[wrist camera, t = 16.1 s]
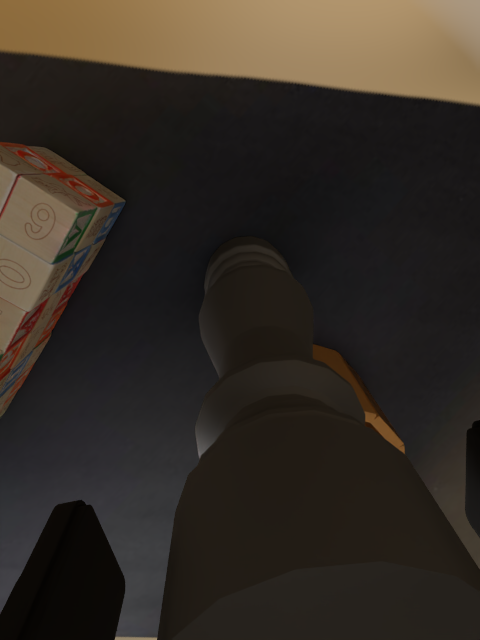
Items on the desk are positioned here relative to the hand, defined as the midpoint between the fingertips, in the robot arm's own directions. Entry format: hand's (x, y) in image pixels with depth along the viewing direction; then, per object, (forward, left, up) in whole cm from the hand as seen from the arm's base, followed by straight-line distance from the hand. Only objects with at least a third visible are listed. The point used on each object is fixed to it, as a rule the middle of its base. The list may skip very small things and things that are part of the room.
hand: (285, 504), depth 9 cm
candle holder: (0, 0, -22) cm, 22 cm away
